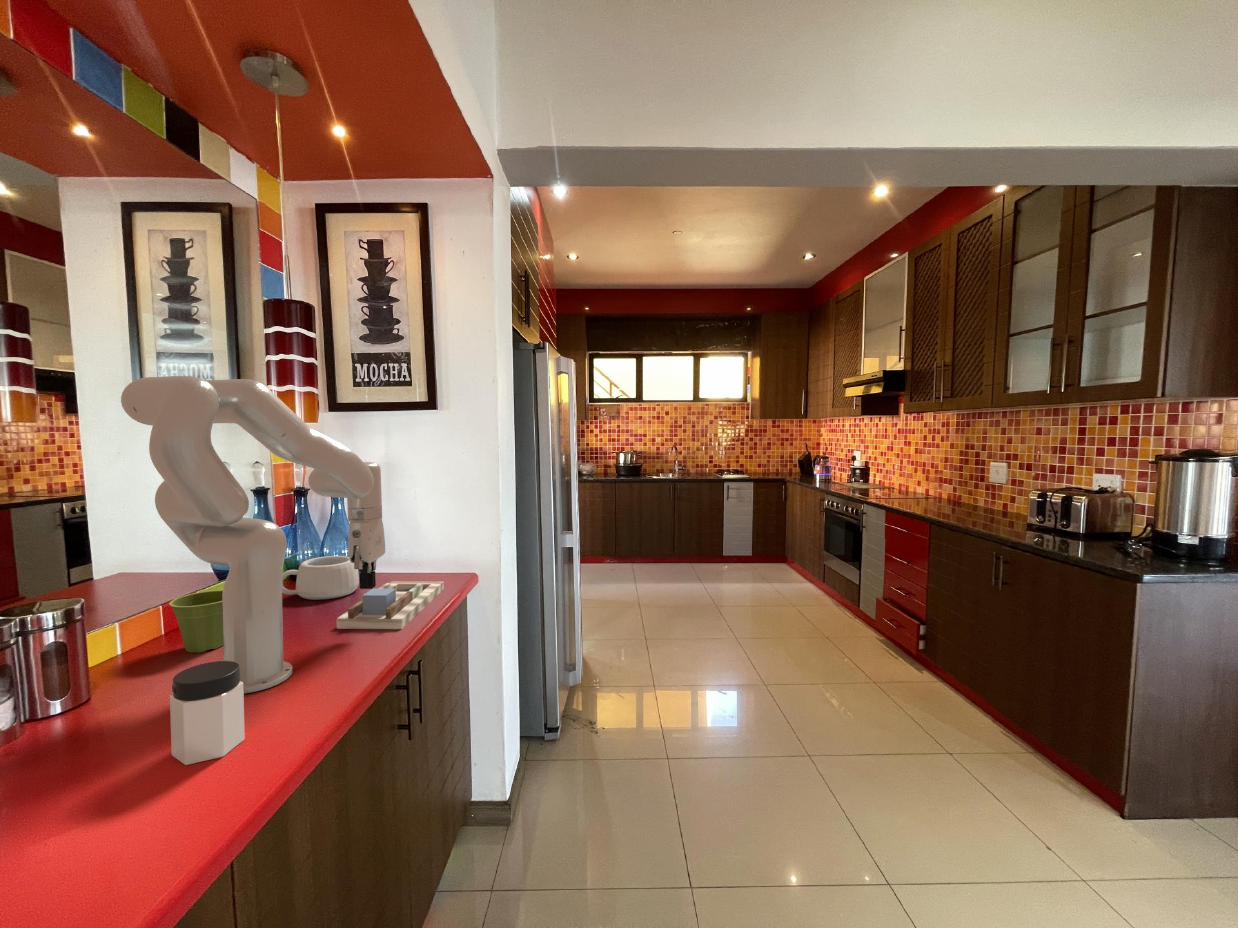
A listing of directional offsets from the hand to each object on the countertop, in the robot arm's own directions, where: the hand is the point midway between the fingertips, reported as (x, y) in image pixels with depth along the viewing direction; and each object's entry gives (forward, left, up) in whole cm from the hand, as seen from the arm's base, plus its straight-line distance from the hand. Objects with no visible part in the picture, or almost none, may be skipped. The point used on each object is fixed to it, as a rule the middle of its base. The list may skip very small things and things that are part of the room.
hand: (367, 587), depth 130 cm
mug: (-16, +36, -11) cm, 41 cm away
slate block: (+2, +7, -8) cm, 11 cm away
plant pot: (-33, 0, -11) cm, 35 cm away
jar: (-18, -46, -11) cm, 50 cm away
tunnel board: (+6, +17, -11) cm, 21 cm away
